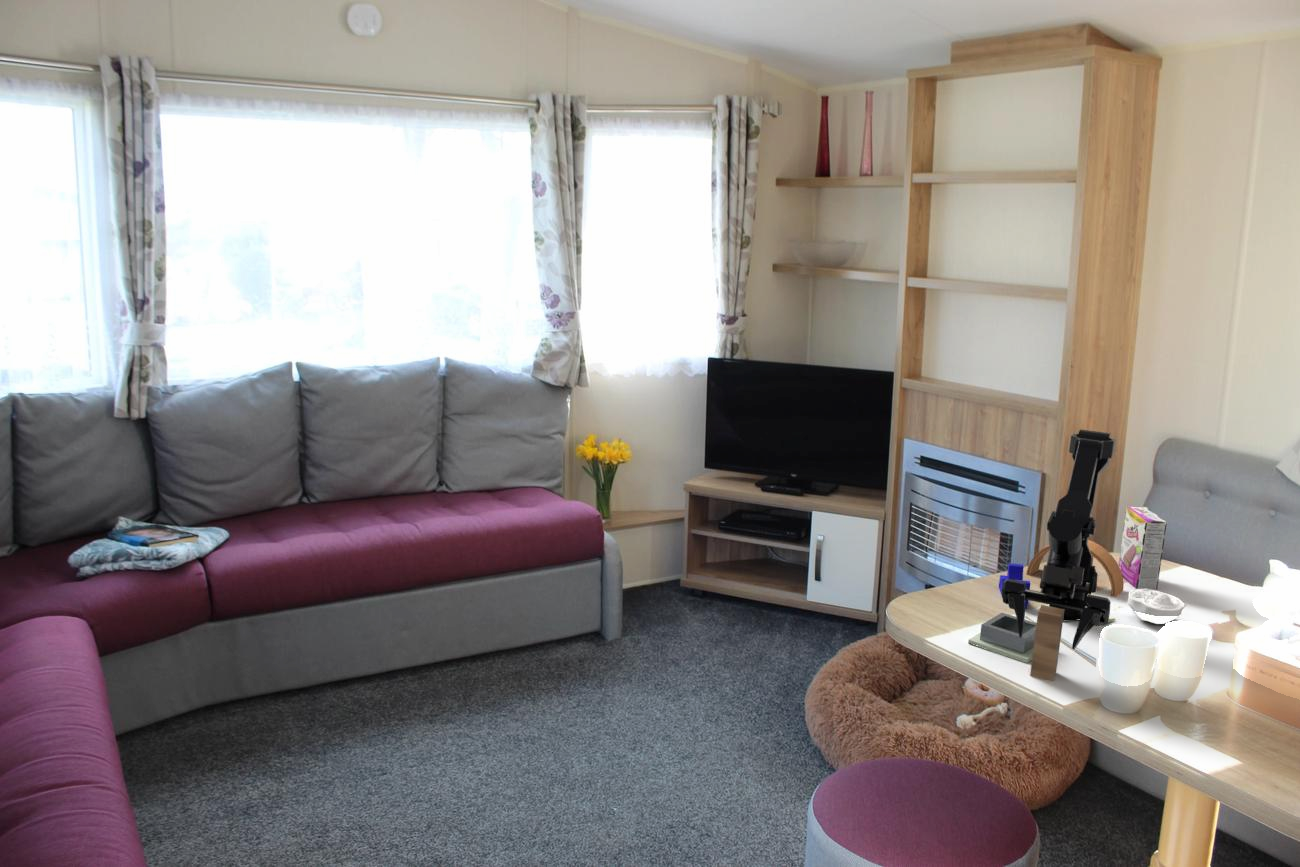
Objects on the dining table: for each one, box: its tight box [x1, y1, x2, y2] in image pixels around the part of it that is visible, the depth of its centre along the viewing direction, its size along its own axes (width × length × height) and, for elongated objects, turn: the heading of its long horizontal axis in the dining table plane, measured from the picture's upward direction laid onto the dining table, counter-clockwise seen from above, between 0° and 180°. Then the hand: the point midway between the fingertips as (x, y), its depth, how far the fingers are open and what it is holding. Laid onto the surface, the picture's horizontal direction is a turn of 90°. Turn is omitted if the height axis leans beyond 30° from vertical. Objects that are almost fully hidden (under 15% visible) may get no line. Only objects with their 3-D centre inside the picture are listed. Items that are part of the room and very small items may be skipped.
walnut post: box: [1029, 604, 1065, 682], centre depth 201 cm, size 4×4×12 cm
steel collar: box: [979, 612, 1037, 654], centre depth 214 cm, size 9×9×3 cm
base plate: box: [967, 632, 1034, 664], centre depth 214 cm, size 12×12×1 cm
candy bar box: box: [1118, 505, 1168, 591], centre depth 250 cm, size 11×5×16 cm, turn 179°
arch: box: [1026, 539, 1124, 598], centre depth 249 cm, size 6×20×10 cm, turn 50°
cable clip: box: [998, 562, 1031, 610], centre depth 238 cm, size 12×4×6 cm, turn 169°
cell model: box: [1127, 588, 1186, 617], centre depth 228 cm, size 10×12×7 cm
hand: (1046, 642), depth 199 cm, fingers open, 9 cm apart
